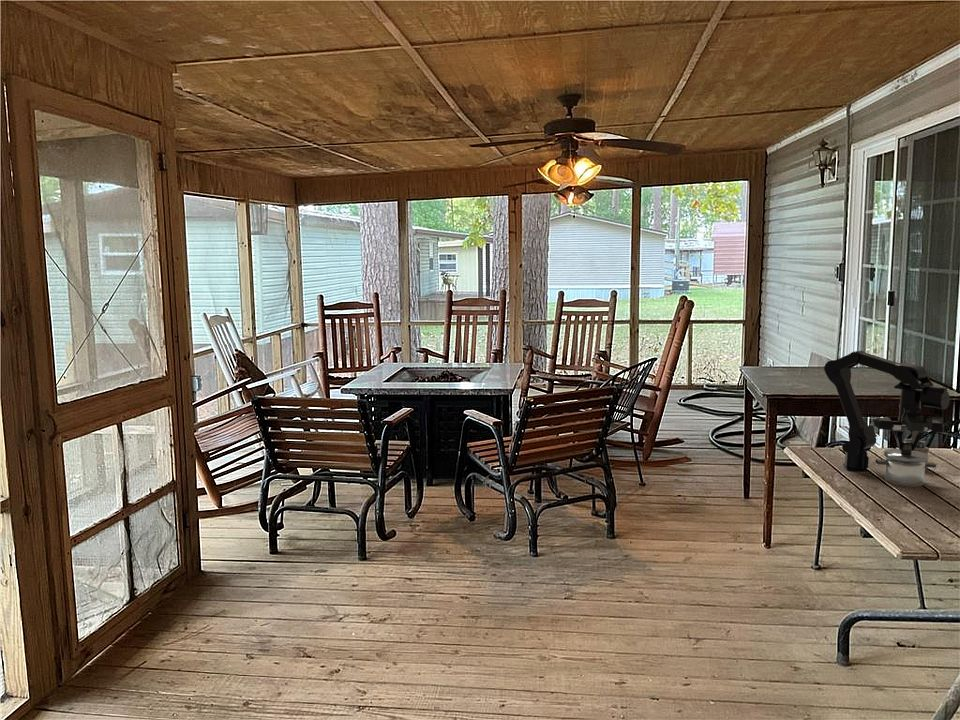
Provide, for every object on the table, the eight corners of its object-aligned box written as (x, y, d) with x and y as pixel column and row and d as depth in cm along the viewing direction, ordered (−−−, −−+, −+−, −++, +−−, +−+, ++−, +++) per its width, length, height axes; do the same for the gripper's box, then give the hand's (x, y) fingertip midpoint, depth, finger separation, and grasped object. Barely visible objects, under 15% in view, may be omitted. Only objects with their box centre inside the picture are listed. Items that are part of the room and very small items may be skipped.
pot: (880, 484, 226) (881, 463, 225) (870, 474, 237) (872, 454, 236) (939, 488, 222) (941, 467, 221) (927, 477, 232) (928, 457, 231)
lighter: (927, 467, 243) (929, 440, 241) (927, 470, 240) (929, 442, 238) (900, 464, 247) (902, 437, 246) (899, 466, 244) (902, 439, 243)
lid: (890, 461, 224) (891, 446, 223) (879, 450, 236) (880, 436, 235) (934, 463, 221) (935, 448, 220) (920, 452, 232) (921, 438, 232)
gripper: (885, 407, 220) (882, 455, 222) (953, 410, 215) (948, 459, 218) (875, 400, 231) (872, 446, 233) (939, 403, 226) (935, 449, 228)
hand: (906, 450), depth 228 cm, fingers open, 3 cm apart
